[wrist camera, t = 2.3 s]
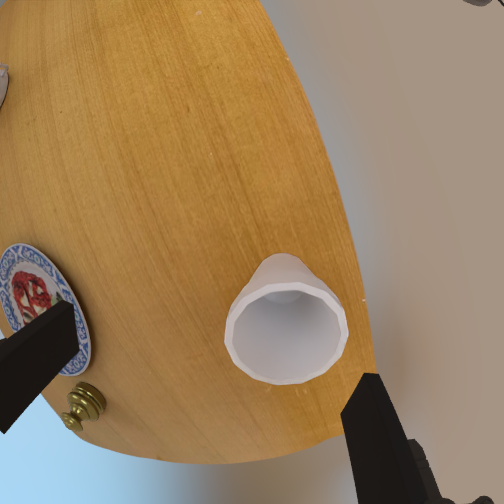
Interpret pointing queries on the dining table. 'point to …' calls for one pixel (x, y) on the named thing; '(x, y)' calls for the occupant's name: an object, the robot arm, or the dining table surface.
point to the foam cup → (285, 324)
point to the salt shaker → (83, 406)
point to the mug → (3, 82)
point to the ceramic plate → (39, 296)
